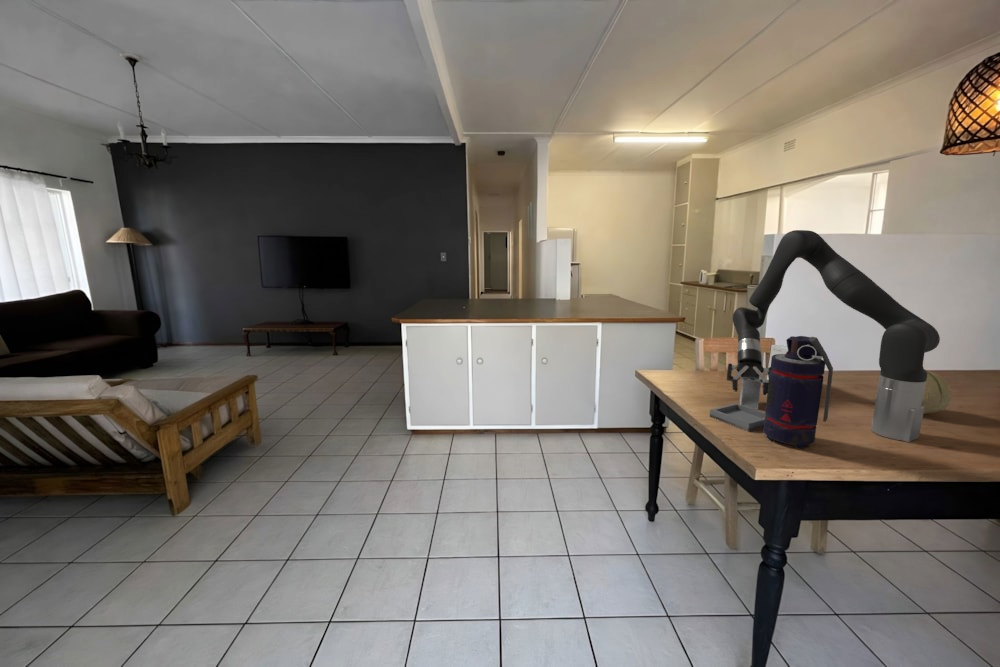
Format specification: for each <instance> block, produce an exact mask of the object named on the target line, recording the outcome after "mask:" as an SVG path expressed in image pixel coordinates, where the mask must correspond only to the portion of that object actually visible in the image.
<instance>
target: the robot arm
mask: <svg viewBox="0 0 1000 667" xmlns="http://www.w3.org/2000/svg"><path fill="white" fill-rule="evenodd" d="M800 258H801V259H803V260H804V261H806V262H807V263H808V264H809V265H811V266H812V267H814V268H815V269H816V271H817V272H818V273H819V274H820V276H821V279H822V280H823V283H824V285H825V287H826V289H828V290H829V292H831V293H832V294H833V296H835V297H836V298H837V299H839V301H841V302H842V303H843V304H844V305H846V306H848V307H849V308H851V309H853V310H855V311H857V312H859V313H861V314H863V315H865V316H866V317H868V318H870V319H872V320H874V321H875V322H876V323H878V325H880V326H881V327H882V328H883V329H884V330H885V331H884V332H883V335H882V336H881V341H880V347H879V348H880V350H879V357H878V358H879V359H878V366H879V367H880V368H879V369H880V374H879V379H878V385H877V392H876V397H875V403H874V408H873V409H874V410H873V414H872V415H873V416H872V420H871V426H870V427H871V428H870V429H871V431H872V433H875V434H876V435H879V436H881V437H885V438H888V439H892V440H899V441H903V442H907V443H910V442H912V441H915V440H918V439H919V438H920V435H921V434H920V433H921V428H922V422H923V418H924V414H923V413H924V406H921V405H922V400H923V395H924V390H925V385H926V380H927V371H928V370H926V369H925V368H924V358H925V353H930V352H932V351H933V350H935V349H936V348H937V347H938V346H939V345H940V341H941V337H940V334H939V332H938V330H937V329H936V328H935V327H934V326H933V325H931V324H930V323H929V322H927V321H926V320H924V319H922V318H921V317H920V316H918V315H916V314H915V313H913V312H911V311H910V310H909V309H907V308H905V306H903V305H901V304H900V303H899V302H898V301H897V300H896V299H895V298H893V297H892V295H890V294H889V293H888V292H886V291H885V290H884V289H883V288H882V287H880V286H879V285H878V284H877V283H876V282H875V281H873V280H872V279H871V278H870V277H868V276H867V275H866V274H865V273H864V272H862V270H859V268H857V267H856V266H854V265H853V264H852V263H850V262H849V261H848V260H847V259H845V258H844V257H842V256H841V255H840V254H839V253H837V252H836V251H835V250H834V248H832V247H831V246H830V245H829V244H828V242H827V241H826V240H825V239H824V238H823V237H821V235H820V234H818V233H817V232H815V231H813V230H805V229H804V230H803V229H799V230H798V229H796V230H791V231H788V232H787V233H785V234H784V235H783V236H782V237H781V239H780V241H779V243H778V245H777V247H776V249H775V251H774V253H773V256H772V259H771V261H770V262H769V264H768V267H767V269H766V272H765V273H764V275H763V277H762V278H761V280H760V282H759V284H758V285H757V286H756V287H755V289H754V291H753V293H752V294H751V295H750V298H749V300H748V301H749V303H750V305H752V306H753V307H754V308H756V310H754V309H751V308H747V307H744V306H743V307H742V306H741V307H738V308H737V309H735V310H734V312H733V314H732V323H733V326H734V328H735V331H736V333H737V347H736V348H737V351H736V354H737V356H736V358H737V359H736V360H737V365H733V363H728V364H727V370H726V381H729V382H732V383H731V384H732V390H733V391H734V392H735V393H737V392H738V390H739V389H738V388H739V387H738V386H739V385H738V381H739V380H742V376H745V377H755V378H759V379H760V381H761V385H762V395H763V396H767V393H768V384H769V380H767V377H765V375H764V374H763V373H765V374H766V376H767V375H768V378H769V376H770V370H771V369H772V368H771V367H769V368H768V367H764V366H763V360H762V359H763V358H762V355H763V354H762V347H761V334H760V332H759V330H758V329H759V328H761V327H762V326H763V325H764V323H765V321H766V317H767V313H768V311H769V309H770V306H771V304H773V302H774V300H775V299H776V298H777V296H778V294H779V292H780V291H781V289H782V286H783V282H784V278H785V275H786V272H787V270H788V268H789V267H790V266H791V265H792V263H793V262H795V260H797V259H800ZM735 370H736V371H737V373H736V374H735V375H734V376H732V372H734V371H735Z"/></svg>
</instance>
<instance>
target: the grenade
mask: <svg viewBox="0 0 1000 667" xmlns="http://www.w3.org/2000/svg"><path fill="white" fill-rule="evenodd" d="M785 341H786V346H787V347H788V351H787V353H786V354H776V355H773V356H772V359H771V368H772V369H771V370H770V376H769V384H768V393H767V394H766V401H765V402H766V404H765V415H766V416H765V421H764V427H763V433H764V434H765V437H766V439H767V438H768V439H769V440H768V439H767V440H768V441H770V440H771V441H770V442H775V441H776V442H779V443H782V444H785V445H792V446H795V448H796V447H797V448H796V449H805V448H807V445H812V444H814V443H815V439H816V433H817V432H816V431H817V425H818V418H819V412H820V404H821V398H822V390H823V385H824V384H823V383H824V374H825V369H826V368H827V371H828V373H827V374H828V375H827V384H826V392H825V399H824V400H825V401H824V411H823V420H822V421H823V422H824V423H826V422H827V420H828V418H829V410H830V400H831V391H832V382H833V373H834V372H833V371H834V368H833V365H832V364H831V361H830V359H829V356H828V354H827V353H826V351H825V349H824V347H823V346H822V344H821V342H820V340H819V339H818V337H816V336H805V335H804V336H803V335H798V336H789V337H788V338H787V339H786V340H785ZM812 355H813V356H814V357H812ZM816 356H822V359H819V358H815V357H816Z"/></svg>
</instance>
